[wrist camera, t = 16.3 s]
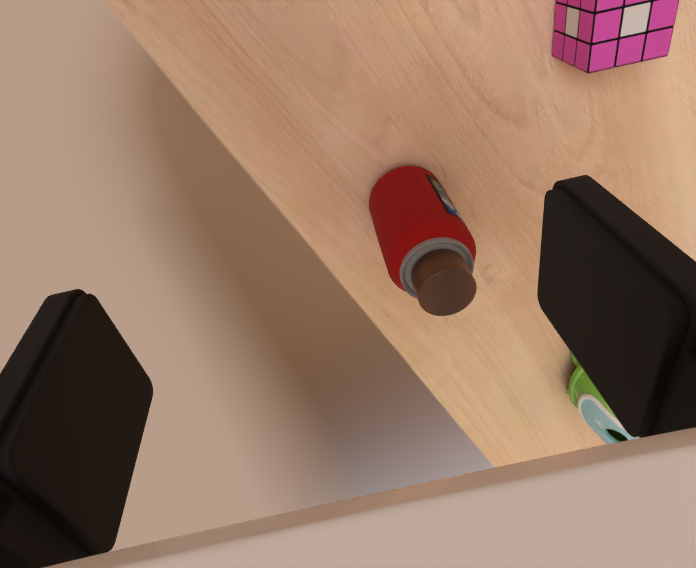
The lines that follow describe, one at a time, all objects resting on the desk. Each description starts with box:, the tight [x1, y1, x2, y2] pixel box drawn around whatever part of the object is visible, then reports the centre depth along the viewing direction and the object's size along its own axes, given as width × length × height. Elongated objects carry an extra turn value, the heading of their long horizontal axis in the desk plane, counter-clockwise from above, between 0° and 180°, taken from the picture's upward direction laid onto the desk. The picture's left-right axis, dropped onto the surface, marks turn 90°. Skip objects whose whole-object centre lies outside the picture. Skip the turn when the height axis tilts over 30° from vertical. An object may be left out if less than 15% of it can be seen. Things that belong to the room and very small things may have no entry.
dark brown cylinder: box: [411, 249, 476, 316], centre depth 34 cm, size 4×4×2 cm
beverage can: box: [369, 166, 476, 299], centre depth 39 cm, size 7×7×12 cm
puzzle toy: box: [552, 0, 679, 73], centre depth 34 cm, size 6×6×6 cm
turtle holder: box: [566, 352, 639, 444], centre depth 58 cm, size 12×18×12 cm
